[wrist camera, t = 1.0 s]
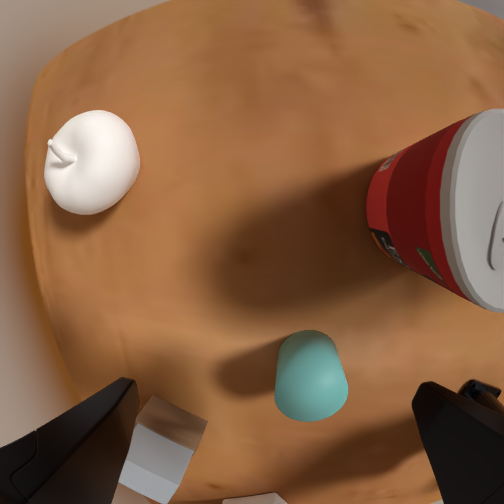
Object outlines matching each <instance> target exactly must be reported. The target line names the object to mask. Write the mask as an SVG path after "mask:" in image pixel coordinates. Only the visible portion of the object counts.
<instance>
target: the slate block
mask: <svg viewBox="0 0 504 504" xmlns="http://www.w3.org/2000/svg"><path fill="white" fill-rule="evenodd" d="M193 452H194V451H193V450H191V449H188V448H186V447H184V446H182V445H180V444H177V443H175V442H173V441H171V440H169V439H167V438H165V437H163V436H161V435H159V434H157V433H155V432H153V431H151V430H149V429H148V428H146V427H144V426H142V425H140V424H137V425H136V427H135V428H134V431H133V435H132V440H131V444H130V448H129V452H128V455H127V458H126V460H125V463H124V466H123V469H122V472H121V475H120V478H119V481H118V482H119V483H121V484H123V485H125V486H127V487H129V488H131V489H132V490H134V491H136V492H138V493H140V494H142V495H144V496H146V497H148V498H151V499H153V500H155V501H157V502H159V503H162V504H167V503H168V502H169V500H170V499H171V497H172V496H173V494H174V493H175V491H176V490H177V488H178V487H179V485H180V483H181V480H182V478H183V476H184V473H185V471H186V469H187V466H188V464H189V461H190V459H191V457H192V454H193Z"/></svg>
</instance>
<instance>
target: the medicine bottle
mask: <svg viewBox="0 0 504 504" xmlns="http://www.w3.org/2000/svg"><path fill="white" fill-rule="evenodd" d="M222 504H287V503H286V502H285V501H284V500H283V499H282V498H281V497H280V496H279V495H278V494H277V493H275V492H273V493H268V494H262V495H255V496H248V497H240V498H231V499H224V500H223V502H222Z"/></svg>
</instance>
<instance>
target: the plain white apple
mask: <svg viewBox="0 0 504 504" xmlns="http://www.w3.org/2000/svg"><path fill="white" fill-rule="evenodd" d="M48 146H49V148H48V152H47V157H46V163H45V170H44V179H45V182H46V186H47V188H48V190H49V192H50V194H51V195H52V197H53V199H54V200H55V202H56V203H57V204H58V205H59V206H60V207H61V208H63V209H65V210H67V211H69V212H71V213H76V214H80V215H92V214H95V213H99V212H102V211H104V210H106V209H108V208H109V207H111V206H113V205H114V204H115V203H117V202H118V201H119V200H120V199H122V198H123V196H124V195H125V194H126V193H127V192H128V191H129V190H130V188H131V187H132V186H133V184H134V182H135V180H136V178H137V176H138V173H139V169H140V158H139V152H138V148H137V145H136V142H135V138H134V136H133V134H132V131H131V129H130V128H129V126H128V125H127V124H126V123H125V122H124V121H123V120H122V119H121V118H119V117H118V116H116V115H115V114H113V113H111V112H107V111H103V110H95V111H88V112H85V113H82V114H79V115H77V116H75V117H73V118H72V119H70V120H69V121H68V122H67V123H65V124H64V126H63V127H62V128H61V129H60V130H59V131H58V132H57V133H56V135H55V136H54V137H53V139H52V140H51V139H50V140H49V141H48Z"/></svg>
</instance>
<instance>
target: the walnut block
mask: <svg viewBox="0 0 504 504" xmlns="http://www.w3.org/2000/svg"><path fill="white" fill-rule="evenodd" d="M207 422H208V421H206V420H204V419H202V418H200V417H197V416H195V415H193V414H191V413H189V412H187V411H185V410H182V409H180V408H178V407H176V406H174V405H172V404H170V403H168V402H167V401H165V400H163V399H161V398H159V397H157V396H155V395H152V396H151V398H150V399H149V400H148V402H147V403H146V404H145V406H144V407H143V409H142V410H141V411H140V413H139V414H138V415H137V417H136V422H135V426H134V428H135V427H136V425H137V424H140V425H142V426H144V427H146V428H148V429H149V430H151V431H153V432H155V433H157V434H159V435H161V436H163V437H165V438H167V439H169V440H171V441H173V442H175V443H177V444H180V445H182V446H184V447H186V448H188V449H191V450H193V451H194V452H193V454H192V456H193V455H194V453H195V452H196V450H197V447H198V445H199V442H200V440H201V437H202V435H203V432H204V430H205V427H206V425H207ZM191 458H192V457H191ZM190 460H191V459H190Z"/></svg>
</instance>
